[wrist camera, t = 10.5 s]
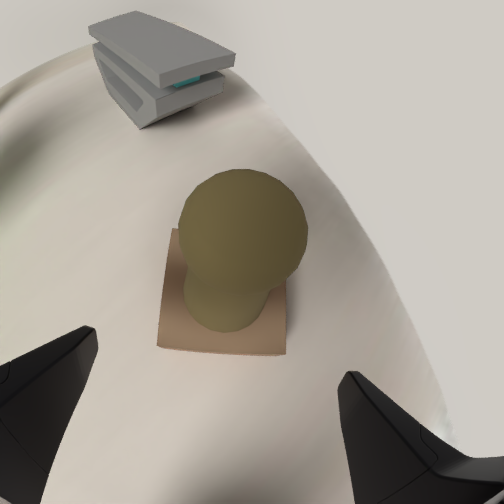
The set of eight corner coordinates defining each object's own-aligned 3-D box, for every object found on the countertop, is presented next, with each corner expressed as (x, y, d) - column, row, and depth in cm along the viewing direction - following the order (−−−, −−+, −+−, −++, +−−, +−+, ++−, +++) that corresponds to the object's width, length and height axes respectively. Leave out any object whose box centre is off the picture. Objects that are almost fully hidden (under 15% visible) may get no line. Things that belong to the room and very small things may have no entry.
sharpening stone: (223, 132, 30) (235, 53, 20) (166, 160, 27) (159, 74, 17) (138, 63, 35) (135, 10, 25) (97, 80, 32) (88, 26, 22)
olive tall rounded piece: (252, 244, 21) (294, 141, 11) (277, 319, 19) (355, 266, 9) (174, 262, 20) (153, 159, 10) (195, 342, 18) (183, 314, 8)
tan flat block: (275, 355, 21) (285, 354, 18) (163, 348, 20) (156, 345, 17) (275, 252, 25) (284, 237, 22) (175, 242, 23) (172, 226, 21)
